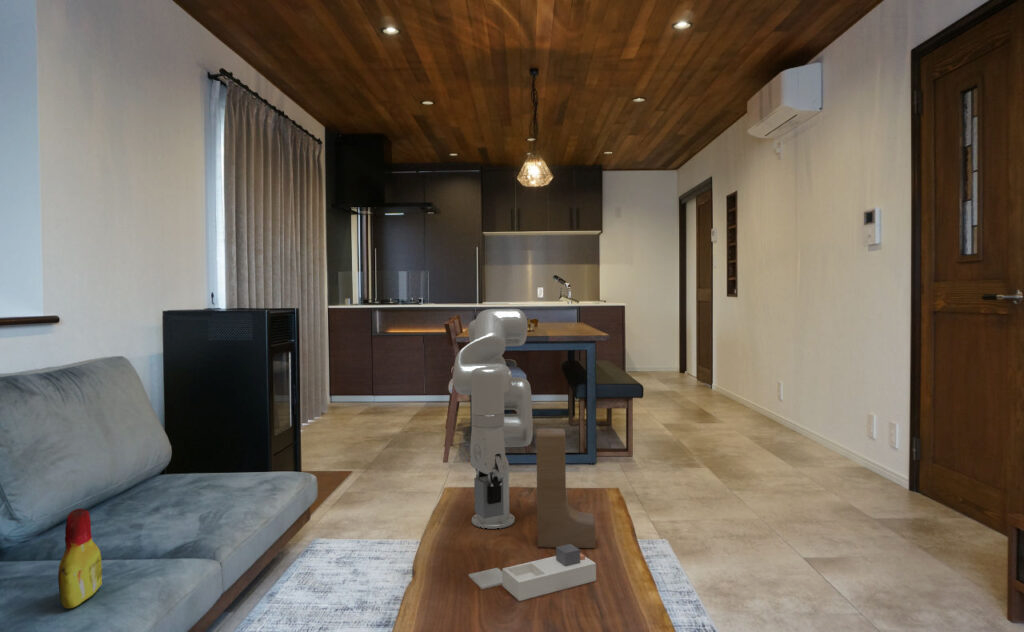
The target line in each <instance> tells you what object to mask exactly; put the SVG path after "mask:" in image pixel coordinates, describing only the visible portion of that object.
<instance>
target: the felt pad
mask: <svg viewBox="0 0 1024 632" xmlns="http://www.w3.org/2000/svg"><path fill="white" fill-rule="evenodd" d="M468 577H469V579H470V580H471V581H473V582H474V584H476V586H478V587H479V589H481V590H485V589H489V588H493V587H496V586H497V587H498V586H503V581H502V569H500V568H499V567H495V568H490V569H486V570H482V571H478V572H476V571H475V572H472V573H469V574H468Z"/></svg>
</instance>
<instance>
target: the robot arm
mask: <svg viewBox="0 0 1024 632" xmlns="http://www.w3.org/2000/svg"><path fill="white" fill-rule="evenodd" d="M467 330H468V331H467V332H468V338H469V339H468V341H469V343H467V344H466V345H465V346H463V347H462V348H461V349H460V350H459V351H458V353H457V355H456V357H455V360H454V366H453V372H452V373H453V374H452V383H453V388H454V390H455V391H456V393H458V394H459V395H464V396H468V395H469V396H470V395H471V398H470V399H471V433H470V446H469V447H470V451H469V462H470V463H469V464H470V466H471V467H472V468H473V469H474V470H475V473H476V474H475V478H477V477H483V476H488V481H489V486H487V497H488V504H494V503H500V502H501V485H502V480H503V509H504V515H500V516H495V517H489V518H482V517H481V516H479V515H478V514H477V513H475V514H474V515H473V516H472V517H471V524H472V525H473V526H475V527H477V528H480V527H481V529H485V528H487V529H486V530H496V529H497V528H499V529H504V528H507V527H510V526H512V525H513V524H514V523H515V519H516V518H515V516H514V515H513V514H512V513H510V479H509V478H510V468H509V467H510V466H509V460H508V457H507V456H506V448H519V447H520V448H521V447H523V448H524V447H527V446H529V445H530V444H531V443H532V441H533V436H534V435H533V433H534V431H533V430H534V429H533V427H534V426H533V404H532V402H533V401H532V389H531V384H530V382H529V380H527V379H526V378H524V377H519V376H517V377H515V376H514V377H513V373H512V371H511V369H510V368H509V366H507V363H506V359H505V358H504V357H503V355H504V353H505V351H506V347H520V346H523V345H525V343H526V341H527V336H528V319H527V316H526V314H525V313H524V311H522V310H521V309H518V308H489V309H485V310H482V311H480V312H479V313H478V314H477V315H476V318H475V319H474V320H471V321H470V322H469V324H468V329H467ZM505 410H509V411H510V410H514V411H515V412H516V413H505ZM492 475H495V476H494V478H493V479H492ZM497 530H498V529H497Z"/></svg>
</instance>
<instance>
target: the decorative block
mask: <svg viewBox="0 0 1024 632" xmlns="http://www.w3.org/2000/svg"><path fill="white" fill-rule="evenodd" d="M535 439H536V441H535V443H536V506H537V507H536V513H537V514H536V515H537V516H536V518H537V522H536V523H537V526H536V527H537V547H539V548H555V549H556V547H559V546H563V545H568V544H571V545H573V546H575V547H576V548H578V549H595V547H596V524H595V517H594V514H592V513H590V512H584V511H578V510H576V509H575V508H573V507H572V506H571V505H570V502H569V500H568V497H567V491H566V490H567V488H566V487H567V484H566V483H567V478H566V476H567V475H566V474H567V473H566V470H567V469H566V430H565V428H553V427H551V428H549V427H548V428H543V427H542V428H537V430H536V438H535Z"/></svg>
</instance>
